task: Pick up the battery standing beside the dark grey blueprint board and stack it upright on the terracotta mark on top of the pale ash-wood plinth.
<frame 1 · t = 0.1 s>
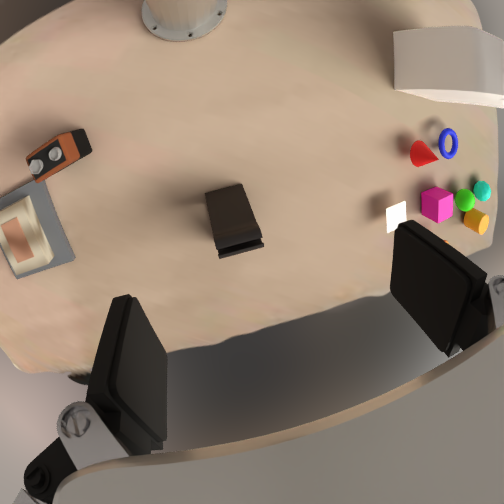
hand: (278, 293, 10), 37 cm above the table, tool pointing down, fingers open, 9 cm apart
shape set: (437, 191, 53), on the table
phone stand: (229, 213, 47), on the table
plinth: (20, 237, 38), on the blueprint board, point 3 cm above the table
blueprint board: (27, 230, 40), on the table
milk: (416, 67, 39), on the table
battery: (72, 148, 37), on the table
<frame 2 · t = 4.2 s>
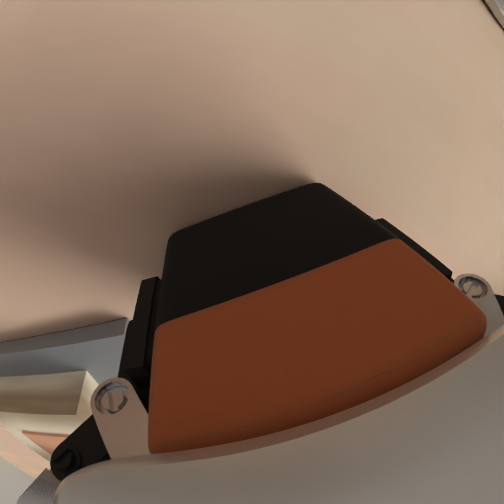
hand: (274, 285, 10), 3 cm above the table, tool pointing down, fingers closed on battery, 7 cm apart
plinth: (82, 442, 14), on the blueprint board, point 3 cm above the table
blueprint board: (87, 412, 16), on the table
battery: (257, 245, 13), on the table, touching gripper
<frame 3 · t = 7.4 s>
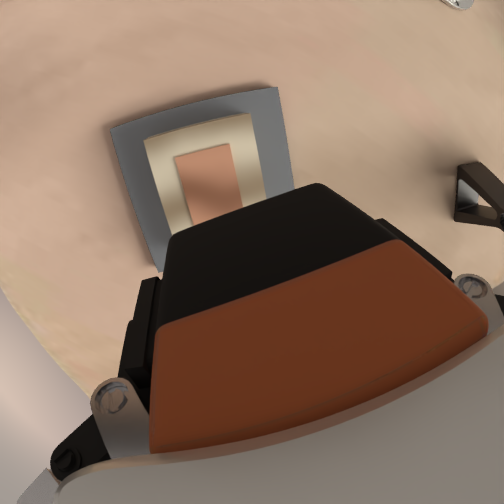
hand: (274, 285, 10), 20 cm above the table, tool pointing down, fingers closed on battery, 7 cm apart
phone stand: (466, 190, 35), on the table
plinth: (211, 188, 26), on the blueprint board, point 3 cm above the table
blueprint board: (210, 180, 28), on the table
battery: (258, 246, 13), point 17 cm above the table, touching gripper
when the fingers open (9 cm above the table, at t = 10.7 s): battery drops 1 cm, resting on plinth.
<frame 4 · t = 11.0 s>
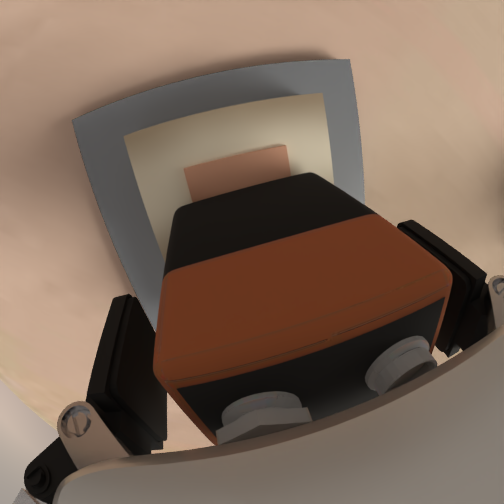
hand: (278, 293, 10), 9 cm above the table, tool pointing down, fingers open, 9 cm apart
plinth: (246, 220, 15), on the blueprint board, point 3 cm above the table
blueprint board: (238, 204, 18), on the table
battery: (254, 226, 14), point 4 cm above the table, touching plinth
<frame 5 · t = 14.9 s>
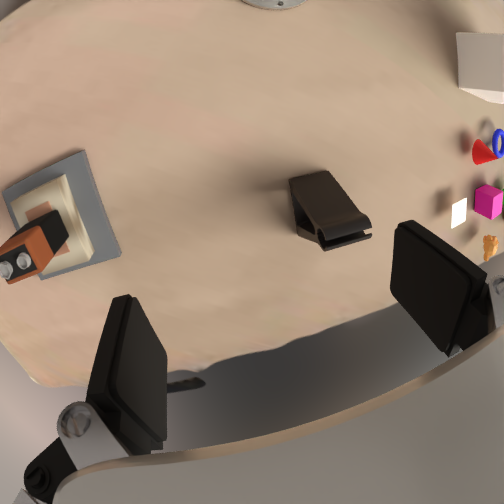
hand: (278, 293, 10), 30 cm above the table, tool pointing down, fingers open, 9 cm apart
shape set: (486, 189, 48), on the table
phone stand: (311, 202, 42), on the table
plinth: (51, 227, 33), on the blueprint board, point 3 cm above the table
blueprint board: (58, 219, 35), on the table
milk: (473, 68, 34), on the table
battery: (47, 229, 31), point 4 cm above the table, touching plinth
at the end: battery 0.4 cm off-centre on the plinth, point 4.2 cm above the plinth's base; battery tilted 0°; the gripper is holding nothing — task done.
